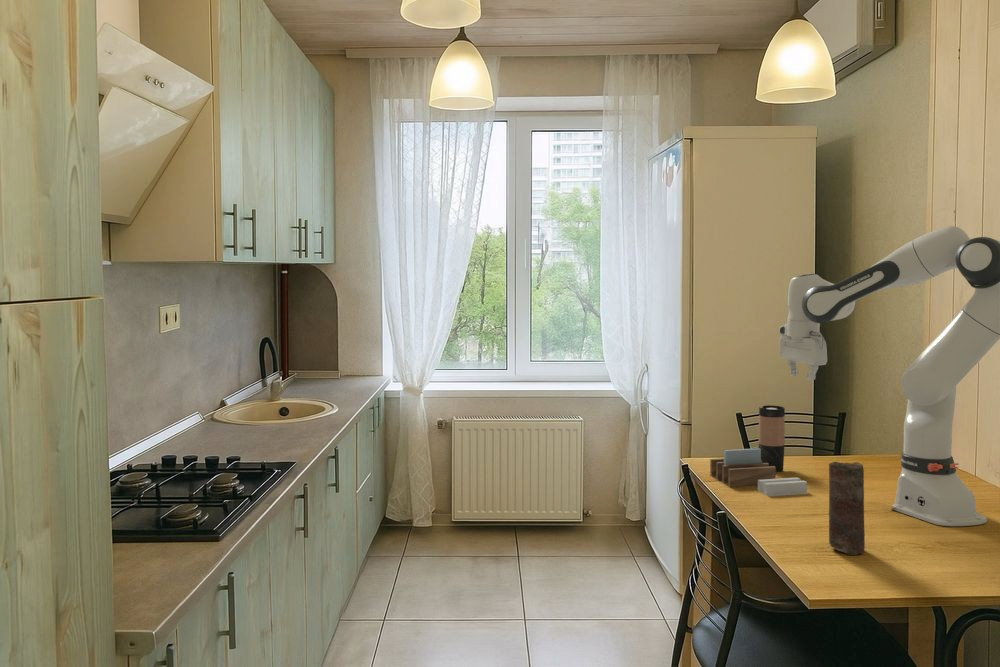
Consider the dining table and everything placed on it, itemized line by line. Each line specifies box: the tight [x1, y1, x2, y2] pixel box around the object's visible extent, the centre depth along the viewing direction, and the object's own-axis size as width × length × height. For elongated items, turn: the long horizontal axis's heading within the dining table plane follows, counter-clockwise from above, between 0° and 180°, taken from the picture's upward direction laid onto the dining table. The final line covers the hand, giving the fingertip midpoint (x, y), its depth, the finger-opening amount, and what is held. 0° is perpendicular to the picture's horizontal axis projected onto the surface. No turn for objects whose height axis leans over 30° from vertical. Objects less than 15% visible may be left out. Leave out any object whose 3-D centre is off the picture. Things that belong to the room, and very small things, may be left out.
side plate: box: [723, 447, 761, 465], centre depth 238 cm, size 1×11×9 cm, turn 100°
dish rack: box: [709, 457, 777, 489], centre depth 238 cm, size 14×14×6 cm
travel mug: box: [758, 404, 786, 473], centre depth 251 cm, size 8×8×20 cm
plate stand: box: [756, 476, 809, 497], centre depth 225 cm, size 7×12×4 cm, turn 100°
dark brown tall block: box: [828, 461, 866, 556], centre depth 181 cm, size 8×7×20 cm
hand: (802, 377), depth 236 cm, fingers open, 8 cm apart
